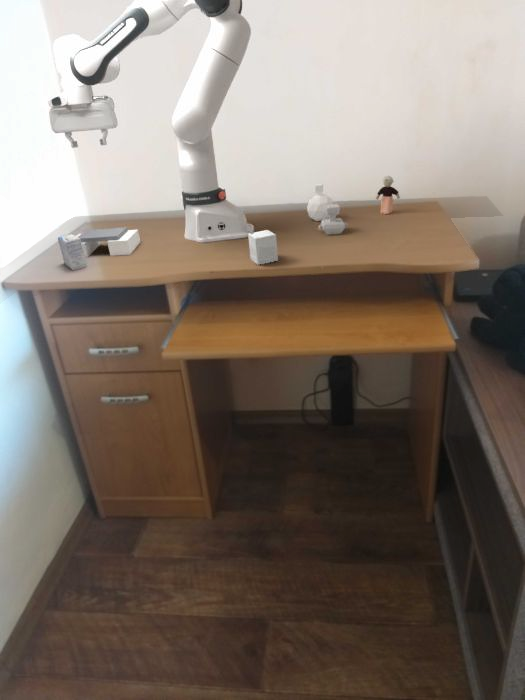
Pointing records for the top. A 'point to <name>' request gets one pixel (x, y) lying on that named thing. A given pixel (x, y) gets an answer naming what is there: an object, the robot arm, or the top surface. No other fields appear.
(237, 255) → the top surface
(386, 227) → the top surface
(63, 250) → the medicine box
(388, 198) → the grandmother figurine
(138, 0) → the robot arm
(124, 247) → the cutout shelf
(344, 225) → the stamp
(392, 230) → the top surface
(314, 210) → the perfume bottle
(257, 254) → the skincare box
